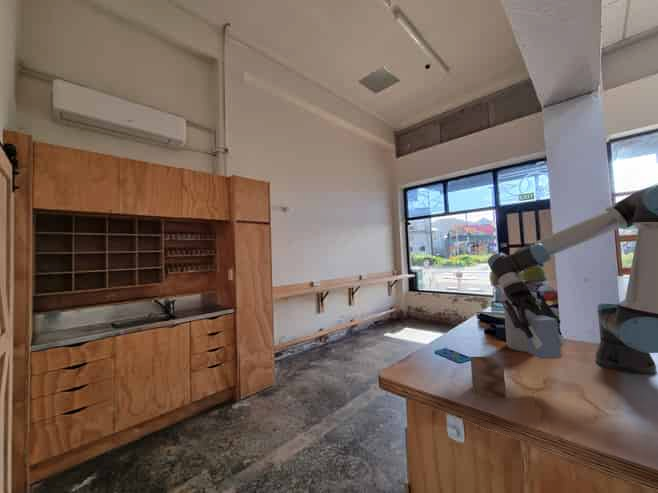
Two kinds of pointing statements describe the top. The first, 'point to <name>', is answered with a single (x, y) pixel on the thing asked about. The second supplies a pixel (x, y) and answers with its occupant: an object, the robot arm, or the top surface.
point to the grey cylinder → (513, 335)
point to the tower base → (489, 388)
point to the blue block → (544, 337)
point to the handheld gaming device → (453, 355)
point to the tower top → (487, 369)
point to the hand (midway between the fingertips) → (551, 346)
